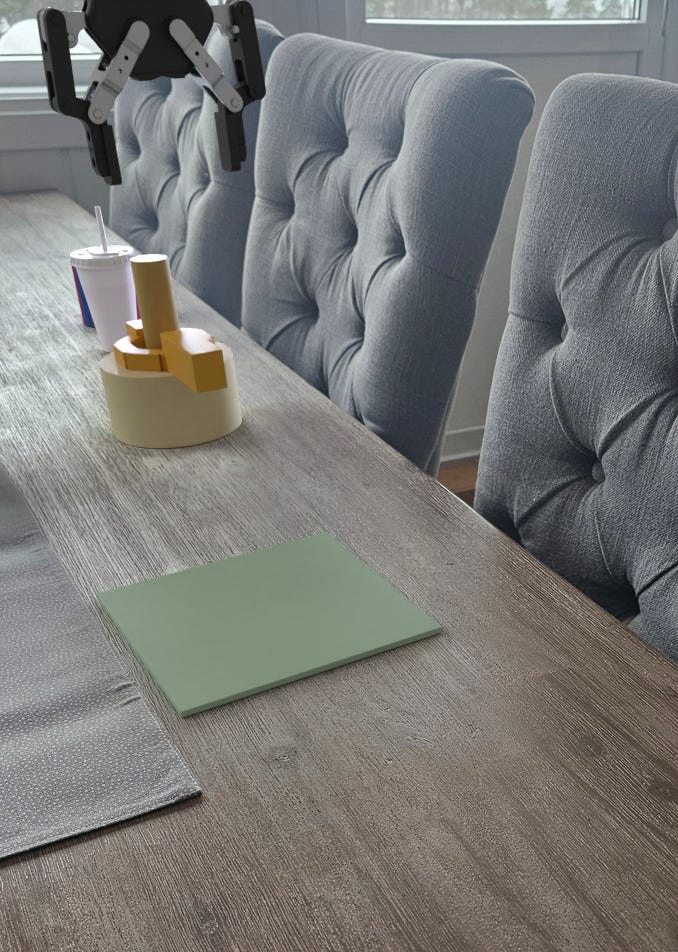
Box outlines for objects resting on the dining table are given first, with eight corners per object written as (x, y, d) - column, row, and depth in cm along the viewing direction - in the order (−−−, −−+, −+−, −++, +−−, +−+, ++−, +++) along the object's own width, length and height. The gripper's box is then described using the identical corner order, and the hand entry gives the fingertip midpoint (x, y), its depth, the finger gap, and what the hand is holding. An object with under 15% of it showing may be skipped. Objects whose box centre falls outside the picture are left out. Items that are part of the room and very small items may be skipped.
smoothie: (118, 359, 115) (89, 214, 107) (76, 350, 118) (45, 208, 110) (164, 343, 119) (140, 203, 112) (123, 335, 122) (96, 198, 115)
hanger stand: (135, 458, 91) (100, 281, 84) (97, 420, 99) (62, 255, 92) (261, 430, 96) (238, 260, 89) (215, 396, 104) (191, 237, 97)
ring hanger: (101, 349, 97) (94, 314, 95) (188, 334, 100) (183, 300, 99) (163, 400, 85) (156, 361, 83) (259, 381, 88) (254, 343, 87)
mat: (181, 718, 59) (180, 712, 59) (96, 599, 71) (95, 593, 71) (442, 632, 66) (442, 626, 66) (326, 536, 78) (326, 531, 78)
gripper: (217, -101, 76) (249, 161, 84) (-2, -101, 70) (57, 181, 78) (259, -108, 70) (289, 173, 79) (25, -109, 64) (85, 196, 73)
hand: (173, 177), depth 79 cm, fingers open, 8 cm apart
